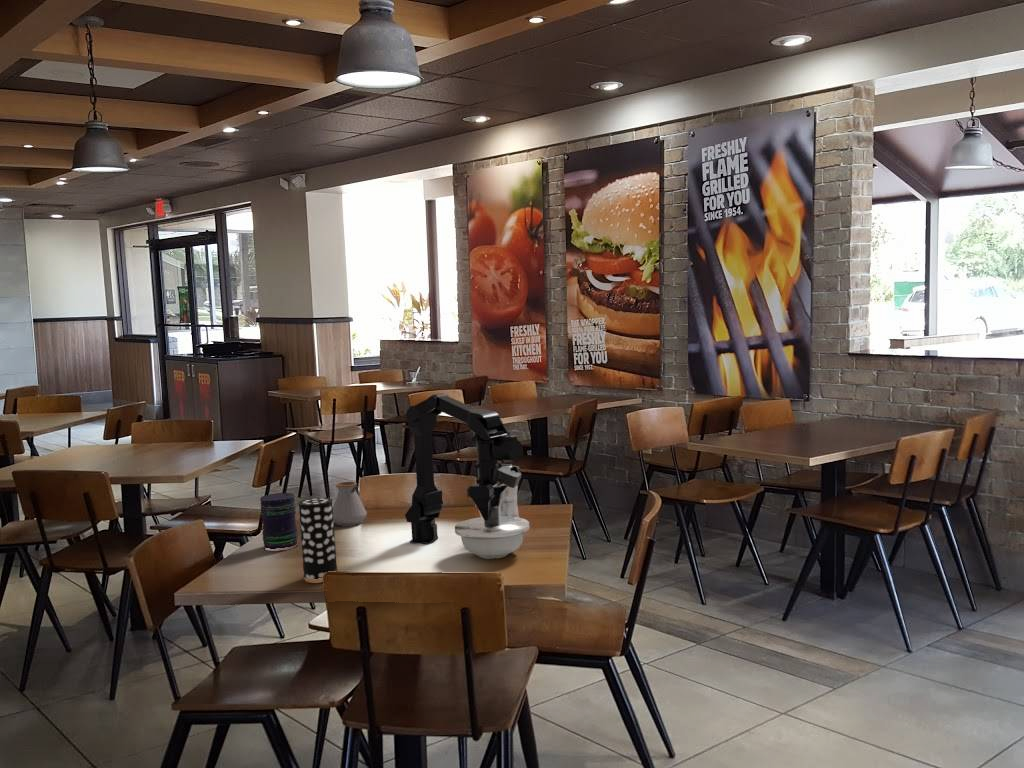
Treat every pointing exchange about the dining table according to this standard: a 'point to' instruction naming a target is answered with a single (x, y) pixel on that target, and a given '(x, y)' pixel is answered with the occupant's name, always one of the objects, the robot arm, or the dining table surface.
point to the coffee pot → (348, 505)
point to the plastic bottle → (508, 500)
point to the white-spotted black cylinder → (317, 537)
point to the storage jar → (279, 520)
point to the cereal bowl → (492, 546)
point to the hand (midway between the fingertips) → (491, 516)
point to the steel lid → (492, 526)
